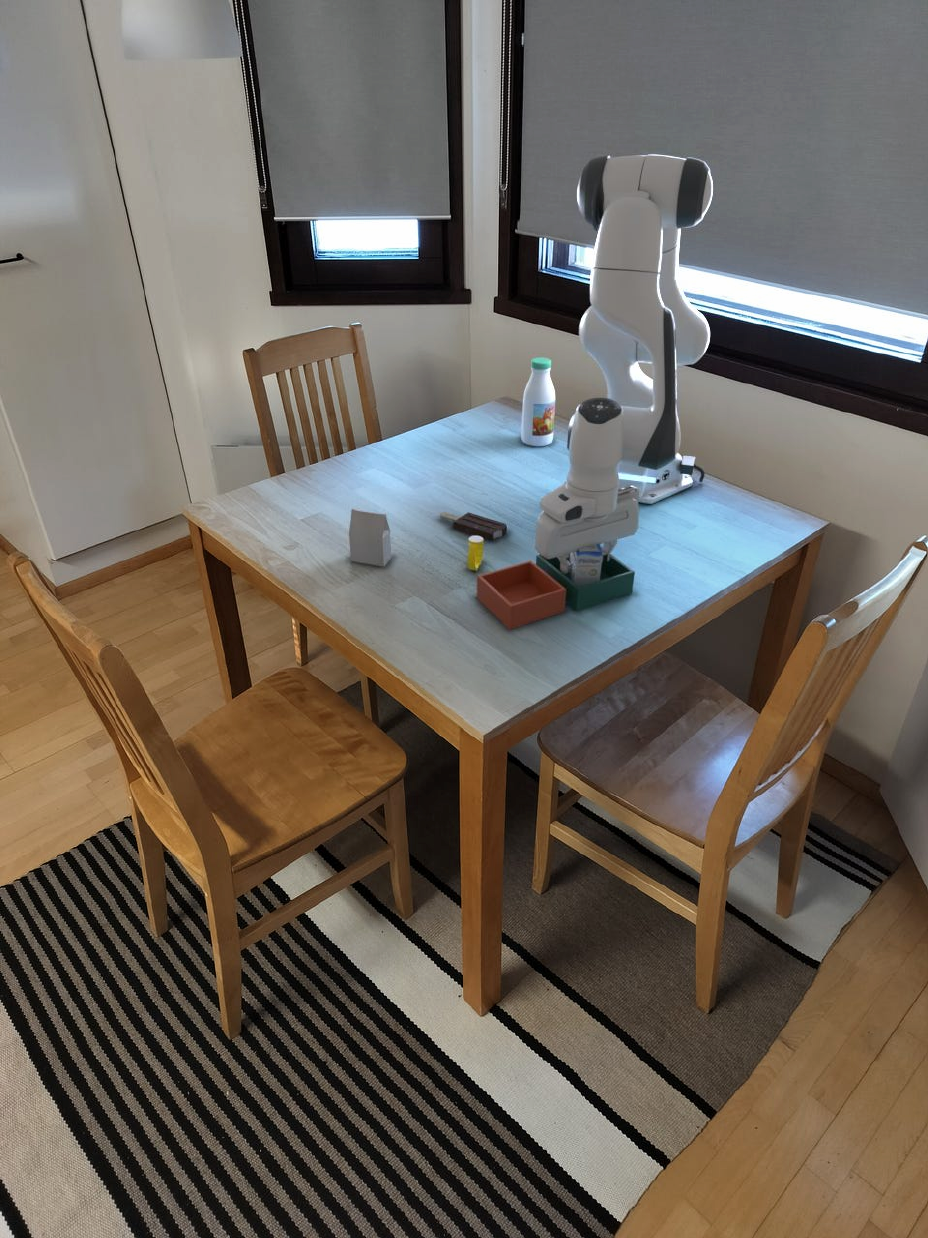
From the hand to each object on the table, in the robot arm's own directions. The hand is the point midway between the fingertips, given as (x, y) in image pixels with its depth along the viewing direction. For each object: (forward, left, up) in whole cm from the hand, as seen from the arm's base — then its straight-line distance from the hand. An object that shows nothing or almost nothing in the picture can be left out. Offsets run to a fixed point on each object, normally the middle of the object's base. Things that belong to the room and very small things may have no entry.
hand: (584, 565), depth 157 cm
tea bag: (+30, -27, -4) cm, 41 cm away
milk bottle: (-29, -60, -4) cm, 67 cm away
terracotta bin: (+13, 0, -4) cm, 14 cm away
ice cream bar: (+7, -29, -4) cm, 30 cm away
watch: (+14, -15, -4) cm, 21 cm away
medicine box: (0, 0, -4) cm, 4 cm away
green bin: (0, 0, -4) cm, 4 cm away
